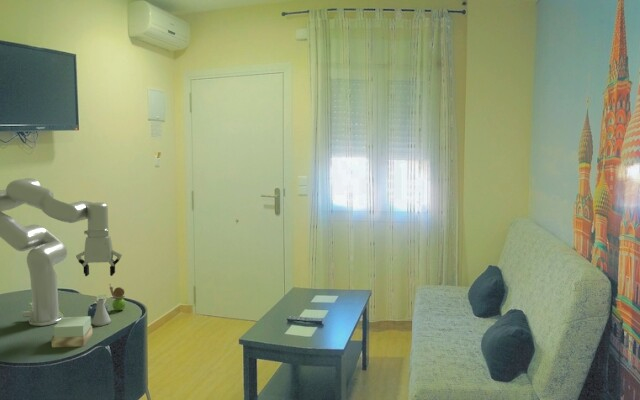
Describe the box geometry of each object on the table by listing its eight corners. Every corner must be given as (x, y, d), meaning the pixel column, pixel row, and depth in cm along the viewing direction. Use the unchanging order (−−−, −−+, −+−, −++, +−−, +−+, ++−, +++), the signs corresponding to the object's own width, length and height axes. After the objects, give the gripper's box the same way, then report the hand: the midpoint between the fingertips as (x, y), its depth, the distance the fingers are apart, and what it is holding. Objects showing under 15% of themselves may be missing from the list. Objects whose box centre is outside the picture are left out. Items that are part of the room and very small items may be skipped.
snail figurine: (112, 308, 231) (111, 282, 230) (127, 308, 232) (126, 281, 230) (108, 312, 226) (107, 285, 224) (123, 312, 226) (122, 285, 225)
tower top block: (54, 337, 189) (53, 327, 189) (63, 327, 199) (62, 317, 199) (83, 336, 191) (83, 325, 190) (90, 326, 201) (90, 316, 200)
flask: (114, 321, 216) (113, 298, 214) (102, 327, 209) (101, 303, 208) (100, 319, 218) (99, 295, 217) (87, 325, 211) (86, 301, 210)
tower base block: (52, 348, 190) (51, 338, 189) (62, 336, 201) (62, 326, 200) (83, 347, 191) (83, 336, 191) (92, 335, 202) (92, 325, 201)
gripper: (72, 235, 204) (74, 278, 206) (118, 235, 206) (119, 277, 209) (78, 231, 211) (80, 272, 214) (123, 231, 214) (124, 272, 216)
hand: (99, 275), depth 211 cm, fingers open, 9 cm apart
